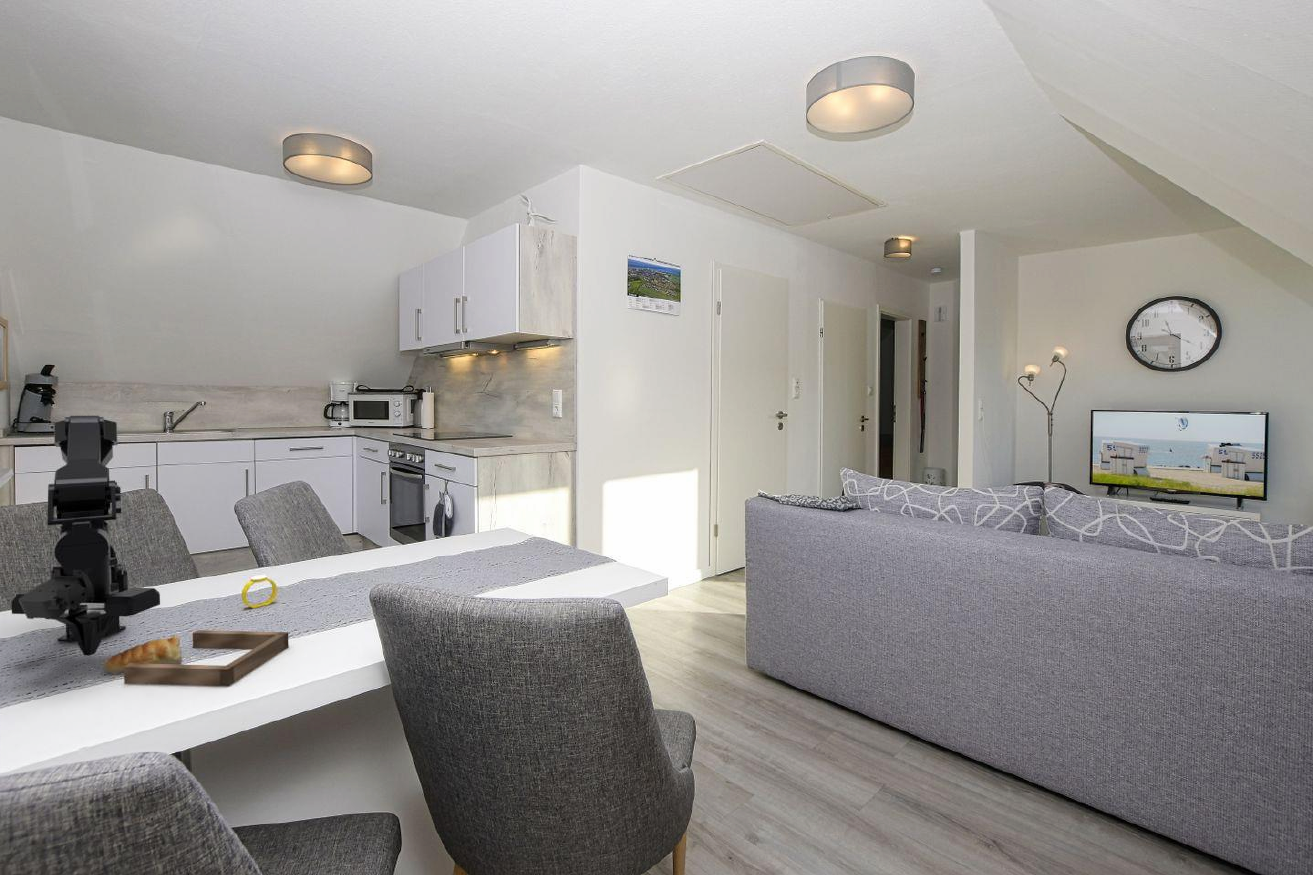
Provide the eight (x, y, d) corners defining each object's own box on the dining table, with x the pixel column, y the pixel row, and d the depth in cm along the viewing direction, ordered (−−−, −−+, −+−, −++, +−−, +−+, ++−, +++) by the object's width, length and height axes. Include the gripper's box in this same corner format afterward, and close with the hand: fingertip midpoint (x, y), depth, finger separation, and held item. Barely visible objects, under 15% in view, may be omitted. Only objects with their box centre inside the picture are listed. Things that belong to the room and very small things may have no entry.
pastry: (104, 682, 92) (103, 656, 92) (104, 667, 97) (103, 643, 97) (184, 665, 98) (184, 641, 98) (180, 652, 103) (180, 629, 103)
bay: (124, 683, 91) (123, 666, 91) (198, 644, 106) (197, 630, 105) (228, 686, 91) (228, 669, 91) (288, 646, 105) (288, 632, 105)
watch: (247, 612, 122) (244, 583, 122) (241, 609, 124) (237, 580, 123) (280, 602, 127) (277, 573, 126) (273, 599, 129) (270, 571, 128)
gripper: (-32, 568, 90) (-26, 675, 91) (97, 571, 89) (102, 679, 90) (46, 549, 101) (50, 645, 102) (161, 552, 100) (164, 648, 101)
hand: (89, 654), depth 98 cm, fingers closed
